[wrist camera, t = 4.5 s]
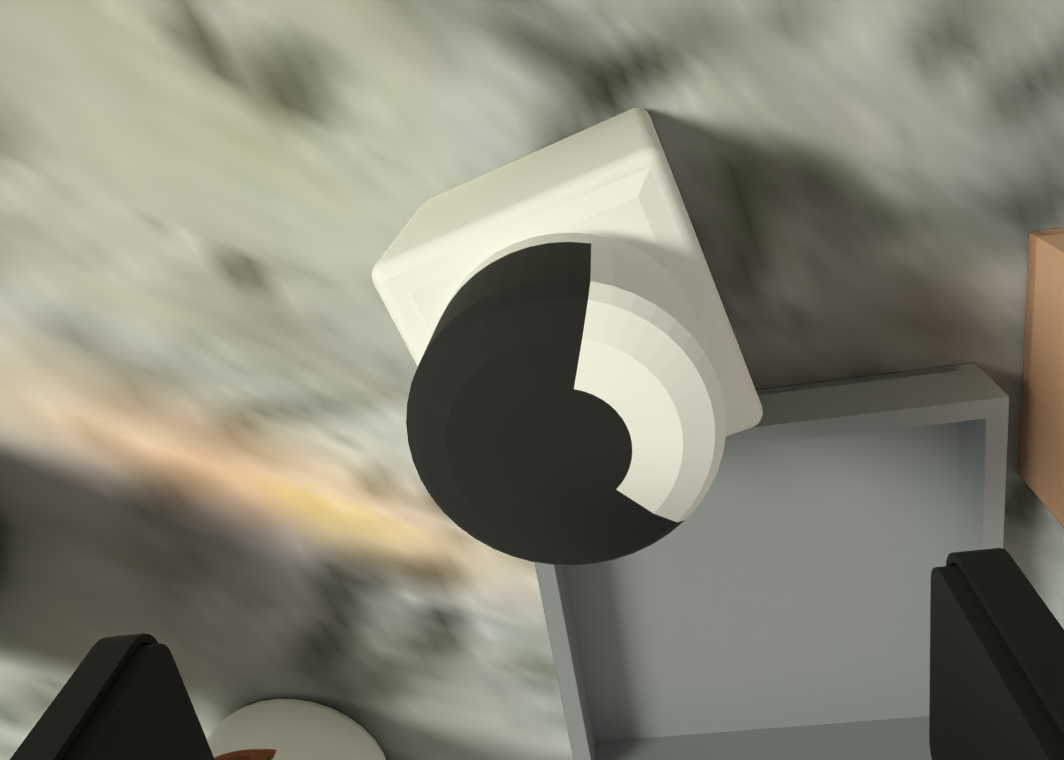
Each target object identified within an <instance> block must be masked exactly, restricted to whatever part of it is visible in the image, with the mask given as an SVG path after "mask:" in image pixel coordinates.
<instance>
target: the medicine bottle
mask: <svg viewBox="0 0 1064 760" xmlns="http://www.w3.org/2000/svg"><path fill="white" fill-rule="evenodd" d="M372 278H373V282H374V285H375V287H376V289H377V290H378V292H379V294H380V296H381V298H382V300H383V302H384V304H385V306H386V307H387V309H388V311H389V313H390V315H391V317H392V319H393V321H394V323H395V324H396V326H397V328H398V330H399V332H400V334H401V336H402V338H403V340H404V341H405V343H406V345H407V347H408V349H409V351H410V353H411V355H412V357H413V358H414V360H415V362H416V364H417V366H418V368H417V370H416V373H415V376H414V378H413V381H412V384H411V388H410V393H409V398H408V403H407V421H406V424H407V434H408V443H409V447H410V451H411V454H412V458H413V462H414V464H415V467H416V469H417V471H418V474H419V476H420V478H421V481H422V482H423V484H424V486H425V487H426V489H427V491H428V492H429V494H430V495H431V497H432V498H433V500H434V501H435V502H436V503H437V504H438V506H439V507H440V508H441V509H442V511H443V512H444V513H445V514H446V515H447V516H448V517H449V518H450V519H451V520H452V521H453V522H455V523H456V524H457V525H458V526H459V527H460V528H462V529H463V530H464V531H466V532H467V533H468V534H470V535H471V536H473V537H474V538H475V539H477V540H479V541H481V542H483V543H484V544H486V545H488V546H490V547H492V548H493V549H496V550H498V551H501V552H503V553H506V554H508V555H511V556H514V557H517V558H521V559H525V560H528V561H532V562H538V563H545V564H551V565H585V564H595V563H600V562H605V561H610V560H615V559H618V558H621V557H624V556H627V555H630V554H633V553H635V552H637V551H640V550H642V549H644V548H646V547H648V546H650V545H652V544H654V543H655V542H657V541H658V540H660V539H662V538H663V537H665V536H666V535H668V534H669V533H671V532H672V531H673V530H674V529H675V528H677V527H678V526H679V525H680V524H681V523H682V522H684V521H685V520H686V519H687V518H688V516H689V515H690V514H691V513H692V512H693V511H694V510H695V509H696V507H697V506H698V505H699V504H700V502H701V501H702V499H703V498H704V496H705V495H706V493H707V492H708V490H709V489H710V487H711V484H712V482H713V480H714V478H715V476H716V474H717V472H718V469H719V465H720V462H721V459H722V455H723V452H724V445H725V437H726V436H729V435H732V434H735V433H738V432H740V431H743V430H746V429H749V428H752V427H754V426H755V425H757V424H758V423H759V422H760V420H761V418H762V415H763V411H762V405H761V403H760V400H759V397H758V395H757V392H756V390H755V387H754V384H753V382H752V379H751V377H750V374H749V371H748V369H747V366H746V364H745V361H744V358H743V356H742V353H741V351H740V348H739V345H738V343H737V340H736V338H735V335H734V332H733V330H732V327H731V325H730V322H729V319H728V317H727V314H726V312H725V309H724V306H723V304H722V301H721V299H720V296H719V293H718V291H717V288H716V286H715V283H714V281H713V278H712V275H711V273H710V270H709V268H708V265H707V262H706V260H705V257H704V255H703V252H702V249H701V247H700V244H699V242H698V239H697V236H696V234H695V231H694V229H693V226H692V223H691V221H690V218H689V216H688V213H687V210H686V208H685V205H684V203H683V200H682V197H681V195H680V192H679V190H678V187H677V184H676V182H675V179H674V177H673V174H672V171H671V169H670V166H669V164H668V161H667V158H666V156H665V153H664V151H663V148H662V146H661V143H660V140H659V138H658V135H657V133H656V130H655V128H654V125H653V123H652V120H651V117H650V115H649V114H648V113H647V111H646V110H644V109H642V108H633V109H630V110H628V111H626V112H623V113H621V114H619V115H617V116H614V117H612V118H610V119H608V120H605V121H603V122H601V123H599V124H596V125H594V126H592V127H590V128H588V129H585V130H583V131H581V132H579V133H576V134H574V135H572V136H570V137H567V138H565V139H563V140H561V141H558V142H556V143H554V144H552V145H549V146H547V147H545V148H543V149H540V150H538V151H536V152H534V153H531V154H529V155H527V156H525V157H522V158H520V159H518V160H516V161H513V162H511V163H509V164H507V165H504V166H502V167H500V168H498V169H495V170H493V171H491V172H489V173H486V174H484V175H482V176H480V177H477V178H475V179H473V180H471V181H468V182H466V183H464V184H462V185H460V186H457V187H455V188H453V189H451V190H448V191H446V192H444V193H442V194H439V195H437V196H435V197H433V198H430V199H428V200H427V201H426V202H424V203H423V204H422V206H421V207H420V208H419V209H418V211H417V212H416V213H415V215H414V216H413V217H412V218H411V220H410V221H409V222H408V224H407V225H406V226H405V227H404V229H403V230H402V231H401V232H400V234H399V235H398V236H397V238H396V239H395V240H394V241H393V243H392V244H391V245H390V247H389V248H388V249H387V250H386V252H385V253H384V254H383V256H382V257H381V258H380V259H379V261H378V262H377V263H376V264H375V266H374V268H373V271H372Z"/></svg>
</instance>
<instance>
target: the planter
mask: <svg viewBox="0 0 1064 760" xmlns="http://www.w3.org/2000/svg"><path fill="white" fill-rule="evenodd" d="M1018 474H1019V475H1020V477H1021V478H1022V479H1023V480H1024V481H1025V482H1026V484H1027V485H1028V486H1029V487H1030V488H1031V489H1032V491H1033V492H1034V493H1035V494H1036V495H1037V496H1038V498H1039V499H1040V500H1041V501H1042V502H1043V503H1044V505H1045V506H1046V507H1047V508H1048V509H1049V511H1050V512H1051V513H1052V514H1053V515H1054V516H1055V518H1056V519H1057V520H1058V521H1059V522H1060V523H1061V525H1062V526H1063V527H1064V228H1058V229H1051V230H1044V231H1036V232H1029V252H1028V274H1027V295H1026V317H1025V338H1024V360H1023V381H1022V403H1021V424H1020V446H1019V467H1018Z"/></svg>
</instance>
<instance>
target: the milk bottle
mask: <svg viewBox="0 0 1064 760" xmlns="http://www.w3.org/2000/svg"><path fill="white" fill-rule="evenodd" d="M207 742H208V744H209V747H210V749H211V752H212V754H213V757H214V759H215V760H386V759H385V756H384V753H383V751H382V749H381V748H380V747H379V745H378V744H377V742H376V740H375V739H374V738H373V737H372V736H371V735H370V734H369V733H368V732H367V731H366V730H365V729H364V728H363V727H362V726H361V725H359V724H358V723H357V722H355V721H354V720H352V719H351V718H350V717H348V716H346V715H344V714H342V713H340V712H338V711H336V710H334V709H333V708H330V707H327V706H323V705H320V704H318V703H315V702H309V701H303V700H298V699H273V700H266V701H259V702H256V703H254V704H251V705H247V706H244V707H243V708H241V709H239V710H238V711H236V712H234V713H232V714H230V715H229V716H228V717H226V718H225V719H224V720H223V721H221V722H220V723H219V724H218V725H217V726H216V727H215V728H214V729H213V730H212V732H211V733H210V734H209V736H208V738H207Z"/></svg>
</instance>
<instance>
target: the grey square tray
mask: <svg viewBox="0 0 1064 760" xmlns="http://www.w3.org/2000/svg"><path fill="white" fill-rule="evenodd" d="M756 392H757V395H758V397H759V400H760V403H761V405H762V411H763V415H762V418H761V420H760V422H759V423H758V424H757V425H755V426H754V427H752V428H749V429H746V430H743V431H740V432H738V433H735V434H732V435H729V436H726V437H725V445H724V452H723V455H722V459H721V462H720V465H719V469H718V472H717V474H716V476H715V478H714V480H713V482H712V484H711V487H710V489H709V490H708V492H707V493H706V495H705V496H704V498H703V499H702V501H701V502H700V504H699V505H698V506H697V507H696V509H695V510H694V511H693V512H692V513H691V514H690V515H689V516H688V518H687V519H686V520H685V521H684V522H682V523H681V524H680V525H679V526H678V527H677V528H675V529H674V530H673V531H672V532H671V533H669V534H668V535H666V536H665V537H663V538H662V539H660V540H658V541H657V542H655V543H654V544H652V545H650V546H648V547H646V548H644V549H642V550H640V551H637V552H635V553H633V554H630V555H627V556H624V557H621V558H618V559H615V560H610V561H605V562H600V563H595V564H585V565H551V564H545V563H538V562H535V567H536V572H537V578H538V583H539V588H540V593H541V598H542V603H543V608H544V613H545V618H546V623H547V628H548V633H549V638H550V643H551V648H552V653H553V658H554V663H555V668H556V673H557V678H558V683H559V688H560V693H561V698H562V703H563V708H564V714H565V719H566V724H567V729H568V734H569V739H570V744H571V749H572V754H573V759H574V760H932V758H931V753H930V746H929V702H930V597H931V572H932V569H933V568H934V567H943V566H946V560H947V557H948V555H949V554H950V553H953V552H963V551H973V550H983V549H993V548H1002V549H1003V540H1004V515H1005V491H1006V466H1007V441H1008V417H1009V396H1008V395H1007V394H1006V393H1005V392H1004V391H1003V390H1002V389H1001V388H1000V387H999V386H998V385H997V384H996V383H995V382H994V381H993V380H992V379H991V378H990V377H989V376H988V375H987V374H986V373H985V372H984V371H983V370H982V369H981V368H980V367H979V366H978V365H977V364H976V363H970V364H962V365H953V366H945V367H937V368H929V369H921V370H913V371H905V372H897V373H889V374H880V375H872V376H864V377H856V378H848V379H840V380H832V381H824V382H816V383H807V384H799V385H791V386H783V387H775V388H767V389H759V390H756Z"/></svg>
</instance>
